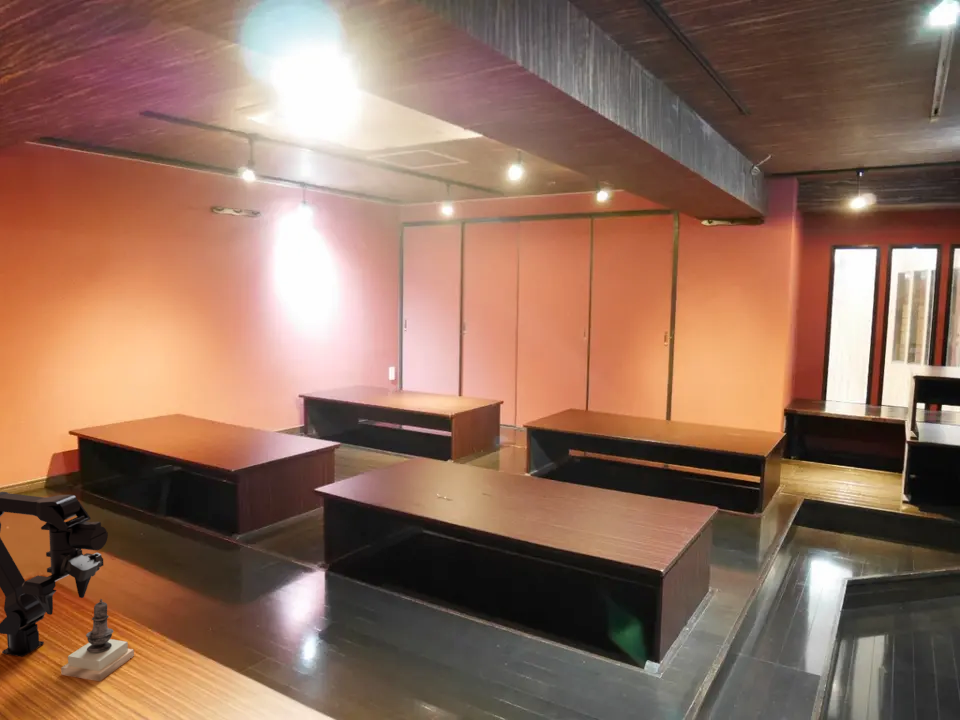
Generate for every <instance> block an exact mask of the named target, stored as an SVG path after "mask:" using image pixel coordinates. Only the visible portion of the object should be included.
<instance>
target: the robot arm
mask: <svg viewBox="0 0 960 720" xmlns="http://www.w3.org/2000/svg"><path fill="white" fill-rule="evenodd" d="M5 513H10V514H17V515H18V514H19V515H25V516H34V517H37V518H38V520H39V521H41V522H44V524H43V525H42V526H41V527H40V529H41V531H42V530H43V531H48V534H49V535H48V537H49V551H47V552H46V551H45V557H46V558H47V557H49V558H50V560H49V561H50V566H49V567H47V568H46V572H47V573H48V574H49V573H50V575H49V576H43V575H35V576H34V577H31V578H29V579H27V580H25V578H24V576H23V575H22V573H21V571H20V569H19V568H18V565H17V563H15V560H13V557H12V556H11V553H10V552H9V549H7V547H6V545H5V543H4V542H3V540H2V538H1V537H0V590H1V591H2V593H3V594H4V596H5V597H4V606H3V607H4V608H3V610H4V614H5V615H6V616H5V618H3V620H1V622H0V635H6V639H7V647H6V648H5V649H3V650H1V651H2V654H3V653H4V654H3V655H9V656H15V657H20V658H21V657H24V656H26V655H28V654H29V653H31V652H33V651H34V650H36V649H37V648H39V647H41V646H43V645H45V642H44V641H41V640H40V633H39V629H38V628H39V627H38V624H37V622H40V621H42V620H43V619H44V618H45V614H47V615H49V616H50V615H53V610H54V598H53V597H54V595H55V593H56V592H57V589H55V587H56V582H58V581H60V580H62V579H64V578H66V577H68V576H71V577H73V578H74V581H75V585H76V590H77V594H78V598H81V599H83V598H85V596H86V593H87V589H88V586H89V583H90V581H91V578H92V577H95V575H96V573H97V572H99V571H100V568H101V567H103V566H104V558H103V556H102V553H99V552H95V553H83V550H87V551H88V550H90V551H100V550H102V549H103V548H104V546H105V545H106V544H107V541H108V537H109V532H108V531H107V528H105V527H104V526H102V523H101V521H90V520H91V517H90V515H89V513H88V511H86V509H85V508H84V506H83V505H82V504H81V502H80V501H79V499H78V498H77V496H76V495H74V494H61V495H60V494H58V495H54V496H46V497H45V496H44V497H43V496H34V495H27V494H26V495H25V494H18V493H10V492H7V491H0V518H1V517H2V516H3V514H5ZM75 516H76V517H75ZM73 517H74V518H73ZM71 518H72V519H71ZM68 519H70V520H68ZM66 520H67V521H66ZM1 529H2V522H0V532H1V531H2V530H1Z"/></svg>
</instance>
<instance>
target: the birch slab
mask: <svg viewBox="0 0 960 720" xmlns="http://www.w3.org/2000/svg"><path fill="white" fill-rule="evenodd" d="M133 656H135V649H133V648H128V651H127V652H126V653H125V654H123V655H122V656H120V657H119V658H118V659H116V660H115V661H113V662H112V663H110V664H109V665H108V666H106V667H105V668H103V669H102V670H101V671H95V670H90V669H84V668H78V667H72V666H68V662H67V663H66V664H64V665H63V666H62V667H60V672H61V673H60V674H61V675H62V676H68V677H74V678H78V679H79V678H80V679H84V680H89V681H90V680H91V681H97V682H101V681H103V680H104V679H105V678H107V677H108V676H109V675H111V674H112V673H113V672H114V671H116V670H117V669H119V668H120V667H122V665H124V664H125V663H127V662H129V660H131V659H132V658H133ZM130 658H131V659H130Z"/></svg>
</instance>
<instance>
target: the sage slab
mask: <svg viewBox="0 0 960 720" xmlns="http://www.w3.org/2000/svg"><path fill="white" fill-rule="evenodd" d="M108 642H109V643H111V644H112V646H111V647H110V648H109V649H107V650H104V651H99V652H89V651H87V648H88V647H89V646H90V645H92V644H90V643H89V642H87V643H86V644H84V645H83V646H81V647H80V648H78V649H77V650H75V651H74V652H72V653H71V654H69V655H68V656H67V663H68V666H72V667H78V668H84V669H90V670H95V671H101V670H102V669H103V668H105V667H106V666H108V665H109V664H110V663H112V662H113V661H115V660H116V659H118V658H119V657H120V656H122V655H123V654H125V653H126V652H127V651H128V649H129V644H128V641H124V640H118V639H112V638H110V640H109V641H108Z"/></svg>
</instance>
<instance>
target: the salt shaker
mask: <svg viewBox="0 0 960 720" xmlns="http://www.w3.org/2000/svg"><path fill="white" fill-rule="evenodd" d="M93 606H94V607H93V617H92V618H91V620H92V623H93V624H92V629H91V631H89V632H87V633H86V634H85V637H86V638H87V641H88V642H87V643H90V644H92V645H90V646H89V647H88V648H87V651H89V652H99V651H104V650H107V649H109V648H110V647H111V646H112V644H111V643H109V642H108V641H109V640H110V639H112V636H113V633H114V630H113V628H109V626H108V618H109V617H110V616H109V615H108V604H107V602H104V601H103V599H102V598H100V599H99V602H97V603H95V604H94V605H93Z"/></svg>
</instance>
